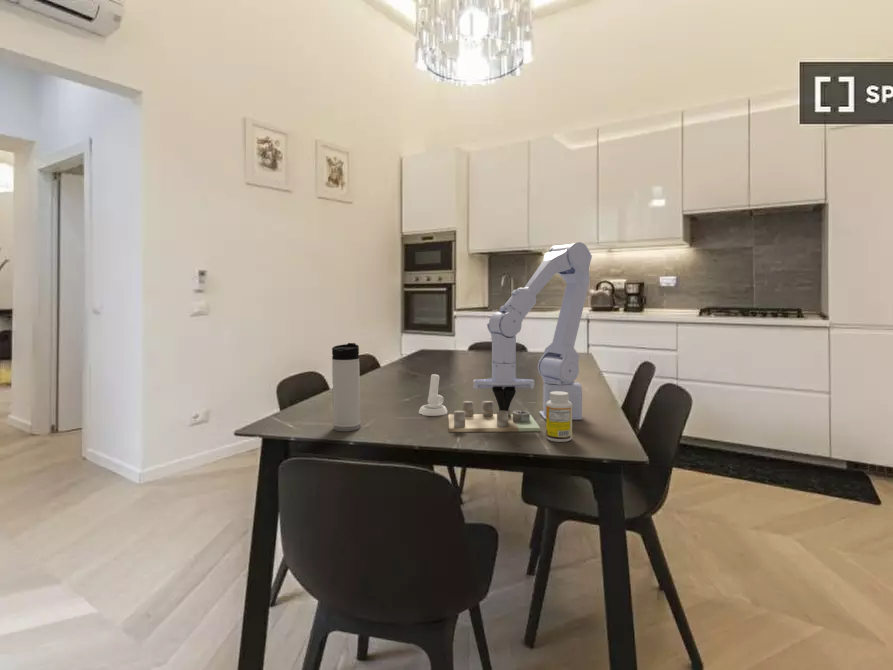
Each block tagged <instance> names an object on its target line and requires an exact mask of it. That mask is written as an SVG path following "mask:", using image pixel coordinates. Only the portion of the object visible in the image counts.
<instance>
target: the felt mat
mask: <svg viewBox="0 0 893 670" xmlns="http://www.w3.org/2000/svg"><path fill="white" fill-rule="evenodd" d="M511 415H512V417H513V413H511ZM516 424H517V426H518V428H519V431H518V432H541V427H540V426H539V424H538V423H537V421H536V420H535V419H534V417H533V415H531V413H530V422H525V423H519V422H516Z"/></svg>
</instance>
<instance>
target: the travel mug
mask: <svg viewBox="0 0 893 670" xmlns="http://www.w3.org/2000/svg"><path fill="white" fill-rule="evenodd" d="M331 356H332V357H331V361H332V363H331V364H332V365H331V367H332V368H331V371H332V372H331V373H332V409H333V411H332V412H333V429H334V430H335V431H336V432H343V433H344V432H346V433H347V432H354V431H355V432H356V431H358V430H359V429H361V391H360V390H361V389H360V388H361V387H360V384H361V383H360V380H361V378H360V373H361V372H360V345H358V344H356V343H355V342H352V343H351V342H347V343H345V344H339V345H335V346H333V347H332V348H331Z"/></svg>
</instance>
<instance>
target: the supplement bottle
mask: <svg viewBox="0 0 893 670" xmlns="http://www.w3.org/2000/svg"><path fill="white" fill-rule="evenodd" d="M568 400H569V394H568V393H567V392H562V391H554V392H550V400H549V401H548V402H547V403H546V420H545V436H546V439H547V440H548V441H551V442H555V443H556V442H557V443H566V442H569V441H571V440H572V438H573V420H572V403H571V402H570V401H568Z"/></svg>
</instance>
